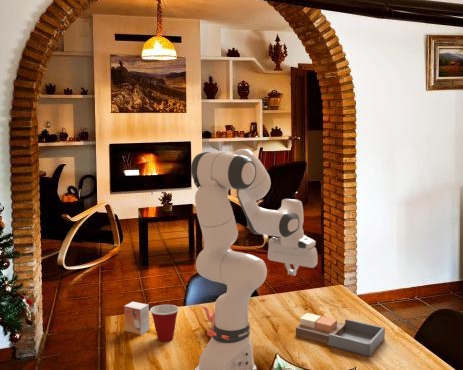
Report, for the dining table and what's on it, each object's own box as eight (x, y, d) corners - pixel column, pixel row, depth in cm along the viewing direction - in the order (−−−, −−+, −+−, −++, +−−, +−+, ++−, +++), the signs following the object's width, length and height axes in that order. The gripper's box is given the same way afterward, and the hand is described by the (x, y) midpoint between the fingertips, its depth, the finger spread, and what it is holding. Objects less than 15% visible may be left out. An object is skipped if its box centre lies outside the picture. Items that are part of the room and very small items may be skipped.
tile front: (330, 332, 183) (330, 325, 182) (315, 328, 186) (315, 322, 186) (337, 326, 188) (337, 319, 187) (322, 322, 191) (322, 316, 191)
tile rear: (314, 328, 186) (314, 321, 186) (300, 324, 190) (300, 318, 189) (321, 322, 191) (321, 316, 191) (307, 318, 195) (307, 312, 194)
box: (369, 357, 170) (369, 344, 169) (328, 346, 178) (328, 334, 178) (384, 339, 183) (384, 327, 182) (345, 329, 191) (345, 318, 190)
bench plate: (331, 344, 179) (331, 337, 179) (295, 335, 187) (295, 327, 187) (345, 331, 190) (345, 324, 189) (310, 322, 198) (311, 315, 197)
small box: (124, 331, 194) (123, 305, 192) (133, 326, 198) (132, 300, 197) (141, 335, 190) (139, 309, 188) (150, 329, 195) (148, 304, 193)
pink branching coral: (244, 337, 187) (244, 311, 185) (198, 335, 189) (197, 309, 188) (248, 324, 198) (248, 299, 196) (204, 322, 201) (203, 297, 199)
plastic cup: (183, 332, 191) (182, 303, 190) (175, 345, 181) (174, 314, 179) (156, 331, 193) (155, 301, 191) (147, 344, 183) (145, 313, 181)
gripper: (264, 238, 194) (264, 272, 196) (312, 245, 182) (312, 281, 184) (272, 234, 199) (272, 268, 201) (319, 241, 187) (319, 276, 189)
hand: (292, 274), depth 192 cm, fingers closed
